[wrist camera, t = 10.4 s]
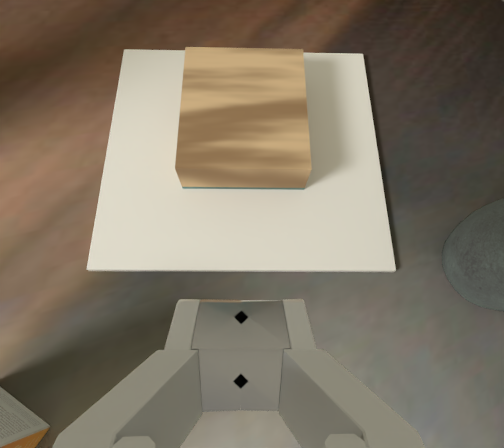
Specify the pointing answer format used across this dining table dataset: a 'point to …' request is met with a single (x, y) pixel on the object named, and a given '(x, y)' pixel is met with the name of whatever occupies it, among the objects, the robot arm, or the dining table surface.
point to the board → (241, 200)
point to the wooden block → (243, 120)
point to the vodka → (478, 257)
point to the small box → (19, 424)
